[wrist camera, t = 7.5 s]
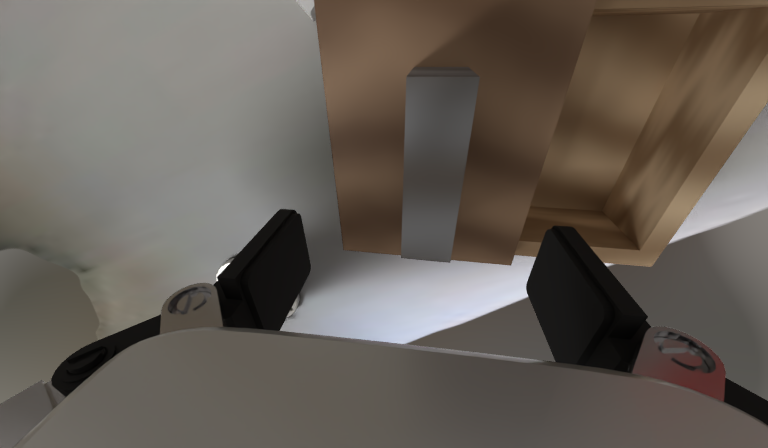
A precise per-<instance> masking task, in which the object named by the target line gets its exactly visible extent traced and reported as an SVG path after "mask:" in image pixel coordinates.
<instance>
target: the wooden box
mask: <svg viewBox="0 0 768 448" xmlns="http://www.w3.org/2000/svg"><path fill="white" fill-rule="evenodd" d="M767 102H768V0H597V2H596V5H595V8H594V11H593V14H592V17H591V20H590V23H589V26H588V29H587V33H586V36H585V39H584V42H583V45H582V48H581V51H580V54H579V57H578V60H577V63H576V66H575V70H574V73H573V76H572V79H571V82H570V85H569V88H568V91H567V94H566V97H565V100H564V103H563V106H562V110H561V113H560V116H559V119H558V122H557V125H556V128H555V131H554V134H553V137H552V140H551V143H550V147H549V150H548V153H547V156H546V159H545V162H544V165H543V168H542V171H541V174H540V177H539V180H538V184H537V187H536V190H535V193H534V196H533V199H532V202H531V205H530V208H529V211H528V214H527V217H526V220H525V224H524V227H523V230H522V233H521V236H520V239H519V242H518V245H517V248H516V251H515V254H514V255H521V256H533V257H537V254H538V251H539V249H540V246H541V243H542V240H543V238H544V235H545V232H546V231H547V230H548V229H551V228H552V227H553V226H571V227H574V228H575V229H576V231H577V232H578V233H579V234H580V235H581V237H582V238H583V239H584V240H585V241H586V243H587V244H588V245H589V246H590V247H591V249H592V250H593V251H594V252H595V253H596V255H597V256H598V257H599V258H600V260H601V261H602V262H603V263H613V264H626V265H636V266H648V267H652V266H653V264H654V263H655V261H656V260H657V258H658V257H659V256H660V254H661V253H662V251H663V250H664V248H665V247H666V246H667V244H668V243H669V241H670V240H671V239H672V237H673V236H674V234H675V233H676V232H677V230H678V229H679V227H680V226H681V224H682V223H683V222H684V220H685V219H686V217H687V216H688V214H689V213H690V212H691V210H692V209H693V207H694V206H695V205H696V203H697V202H698V200H699V199H700V197H701V196H702V195H703V193H704V192H705V190H706V189H707V187H708V186H709V185H710V183H711V182H712V180H713V179H714V178H715V176H716V175H717V173H718V172H719V170H720V169H721V168H722V166H723V165H724V163H725V162H726V160H727V159H728V158H729V156H730V155H731V153H732V152H733V151H734V149H735V148H736V146H737V145H738V143H739V142H740V141H741V139H742V138H743V136H744V135H745V134H746V132H747V131H748V129H749V128H750V126H751V125H752V124H753V122H754V121H755V119H756V118H757V116H758V115H759V114H760V112H761V111H762V109H763V108H764V107H765V105H766V104H767Z"/></svg>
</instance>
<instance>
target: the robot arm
mask: <svg viewBox="0 0 768 448" xmlns="http://www.w3.org/2000/svg"><path fill="white" fill-rule="evenodd" d="M310 269H311V265H310V260H309V255H308V249H307V244H306V239H305V234H304V229H303V224H302V219H301V215H300V214H297V212H296V211H295V210H287V209H280V210H279V211H278V212H277V213H276V214H275V215H274V216H273V217H272V218H271V219H270V220H269V221H268V222H267V224H266V225H265V226H264V227H263V228H262V229H261V230H260V231H259V232H258V233H257V234H256V235H255V236H254V238H253V239H252V240H251V241H250V242H249V243H248V244H247V245H246V246H245V247H244V248H243V249H242V251H241V252H240V253H239V254H238V255H237V256H236V257H235V258H232V259H230V260H228V261H226V262H225V263H224V264H223V265H222V266H221V267H220V268H219V270H218V272H217V275H216V280H217V282H216V283H215V284H214V285H212V284H209V283H197V284H193V285H189V286H187V287H184V288H182V289H180V290H178V291H177V292H175V293H174V294H172V295H171V296H170V297H169V298H168V299H167V300H166V301H165V303H164V304H163V306H162V309H161V315H159V316H156V317H154V318H152V319H149V320H147V321H144V322H142V323H139V324H137V325H135V326H132V327H130V328H127V329H125V330H122V331H120V332H118V333H115V334H113V335H110V336H108V337H105V338H103V339H101V340H98V341H96V342H94V343H91V344H89V345H87V346H85V347H83V348H81V349H80V350H78V351H76V352H75V353H73V354H72V355H71V356H69V357H68V358H67V359H66V360H65V361H64V362H62V363H61V365H60V366H59V367H58V368H57V369H56V371H55V373H54V375H53V376H52V379H51V381H49V382H47V383H45V382H44V381H42V380H41V381H39V382H37V383H35V384H34V385H32V386H30V387H29V388H27V389H25V390H23V391H22V392H20V393H18V394H16V395H15V396H13V397H11V398H10V399H8V400H6V401H5V402H3V403H1V404H0V448H768V401H767V400H765V399H763V398H761V397H759V396H757V395H756V394H754V393H752V392H750V391H748V390H747V389H745V388H743V387H741V386H739V385H738V384H736V383H734V382H732V381H730V380H729V379H727V378H725V374H726V372H725V368H724V364H723V363H722V361H721V360H720V358H719V357H718V356H717V355H716V354H715V353H714V352H713V351H712V350H711V349H710V348H709V347H707V346H706V345H705V344H703V343H702V342H700V341H699V340H697V339H696V338H694V337H692V336H690V335H688V334H686V333H684V332H681V331H679V330H676V329H673V328H669V327H665V326H655V327H651V326H650V325H649V324H648V323H647V322H646V319H647V317H648V316H647V315H646V314H645V313H644V312H643V310H642V309H641V308H640V307H639V305H638V304H637V303H636V302H635V301H634V299H633V298H632V297H631V296H630V295H629V293H628V292H627V291H626V290H625V288H624V287H623V286H622V285H621V284H620V282H619V281H618V280H617V279H616V278H615V276H614V275H613V274H612V273H611V272H610V271H609V269H608V268H607V267H606V266H605V264H604V263H603V262H602V261H601V260H600V258H599V257H598V256H597V255H596V253H595V252H594V251H593V250H592V249H591V247H590V246H589V245H588V244H587V243H586V241H585V240H584V239H583V238H582V237H581V235H580V234H579V233H578V232H577V231H576V229H575V228H574V227H571V226H553V227H552V228H551V229H548V230H547V231H546V232H545V235H544V238H543V240H542V243H541V246H540V249H539V251H538V254H537V257H536V260H535V262H534V265H533V268H532V271H531V273H530V276H529V279H528V281H527V286H526V289H527V294H528V296H529V298H530V301H531V303H532V306H533V308H534V310H535V313H536V315H537V318H538V320H539V323H540V325H541V327H542V330H543V332H544V335H545V337H546V340H547V342H548V344H549V346H550V349H551V352H552V354H553V356H554V359H555V361H556V362H551V361H544V360H535V359H526V358H518V357H509V356H501V355H493V354H484V353H475V352H467V351H459V350H449V349H441V348H432V347H423V346H415V345H406V344H397V343H388V342H379V341H370V340H361V339H351V338H342V337H333V336H323V335H314V334H305V333H295V332H285V331H280V329H281V327H282V325H283V323H284V321H285V319H286V318H287V317H289V316H291V315H292V314H293V313H294V312H295V310H296V308H297V307H298V304H299V292H300V291H301V289H302V287H303V285H304V283H305V281H306V279H307V277H308V275H309V273H310Z"/></svg>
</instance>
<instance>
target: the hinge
mask: <svg viewBox="0 0 768 448" xmlns="http://www.w3.org/2000/svg"><path fill="white" fill-rule="evenodd" d="M296 1H297V3H298V4H299V5H300V6H301V7H302V9H303V10H304V11H305V12H306V13H307V14H308V16H309V17H310V18H311V19H312V20H313V22H314V21H315V20H316V14H315V6H314V0H296Z"/></svg>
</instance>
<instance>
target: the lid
mask: <svg viewBox="0 0 768 448" xmlns="http://www.w3.org/2000/svg"><path fill="white" fill-rule="evenodd" d="M596 2H597V0H314V6H315V14H316V23H317V31H318V39H319V48H320V56H321V65H322V73H323V81H324V90H325V98H326V107H327V115H328V123H329V132H330V140H331V149H332V157H333V165H334V174H335V182H336V191H337V199H338V208H339V216H340V224H341V233H342V241H343V250H350V251H361V252H372V253H382V254H393V255H401V258H407V259H418V260H428V261H439V262H450V261H451V260H458V261H469V262H480V263H491V264H502V265H511V264H512V261H513V257H514V254H515V251H516V248H517V245H518V242H519V239H520V236H521V233H522V230H523V227H524V224H525V220H526V217H527V214H528V211H529V208H530V205H531V202H532V199H533V196H534V193H535V190H536V187H537V184H538V180H539V177H540V174H541V171H542V168H543V165H544V162H545V159H546V156H547V153H548V150H549V147H550V143H551V140H552V137H553V134H554V131H555V128H556V125H557V122H558V119H559V116H560V113H561V110H562V106H563V103H564V100H565V97H566V94H567V91H568V88H569V85H570V82H571V79H572V76H573V73H574V70H575V66H576V63H577V60H578V57H579V54H580V51H581V48H582V45H583V42H584V39H585V36H586V33H587V29H588V26H589V23H590V20H591V17H592V14H593V11H594V8H595V5H596Z"/></svg>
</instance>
